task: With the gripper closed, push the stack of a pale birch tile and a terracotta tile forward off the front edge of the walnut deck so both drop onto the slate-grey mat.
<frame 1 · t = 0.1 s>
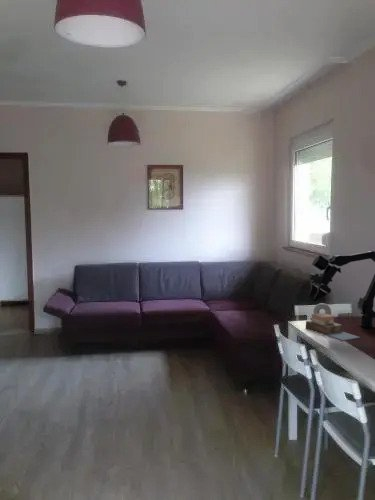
hand: (311, 298, 247), 15 cm above the table, tool tilted 30°, fingers open, 9 cm apart
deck: (323, 330, 239), on the table
tile lower: (322, 322, 240), point 4 cm above the table, touching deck, tile upper
donut: (321, 320, 262), on the table
mat: (342, 336, 228), on the table
tile upper: (322, 318, 240), point 6 cm above the table, touching tile lower
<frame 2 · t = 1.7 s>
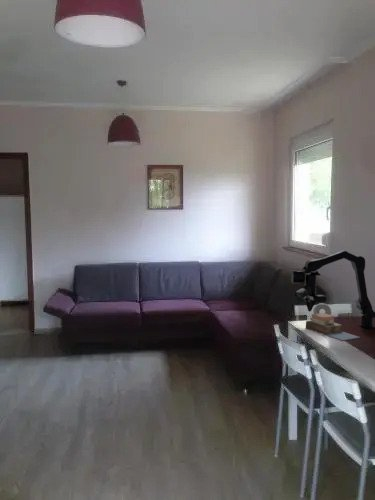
hand: (309, 311, 248), 8 cm above the table, tool pointing down, fingers closed
nothing on the table moved.
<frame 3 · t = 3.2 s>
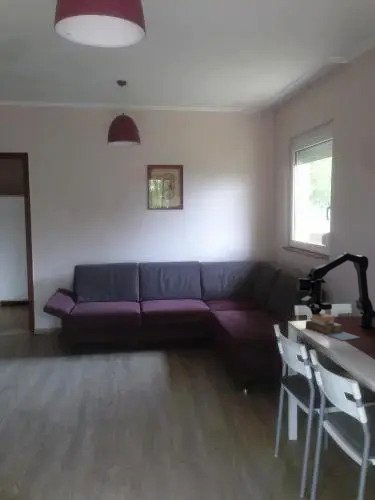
hand: (314, 319, 245), 4 cm above the table, tool pointing down, fingers closed
tile lower: (322, 322, 240), point 4 cm above the table, touching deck
tile upper: (323, 319, 239), point 6 cm above the table, touching gripper
everything else where it was.
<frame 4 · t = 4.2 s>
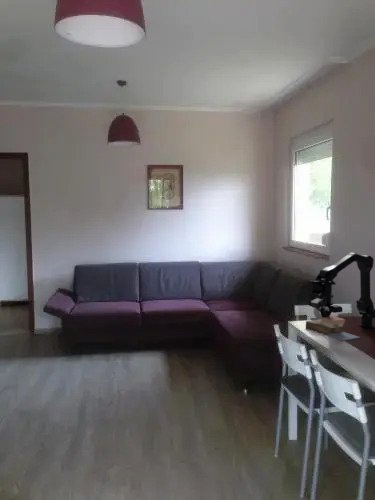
hand: (324, 322, 239), 5 cm above the table, tool pointing down, fingers closed
tile lower: (331, 325, 234), point 4 cm above the table, touching gripper, tile upper
tile upper: (333, 322, 233), point 6 cm above the table, touching tile lower
everything else where it was.
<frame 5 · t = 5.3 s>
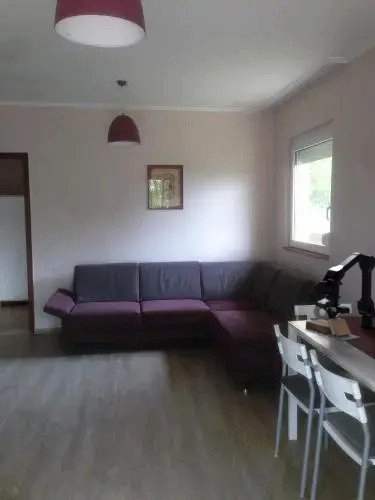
hand: (331, 323, 235), 5 cm above the table, tool pointing down, fingers closed
tile lower: (335, 327, 232), point 4 cm above the table, tilted 56°, touching gripper, mat
tile upper: (339, 328, 229), point 4 cm above the table, tilted 53°, touching mat
everything else where it was.
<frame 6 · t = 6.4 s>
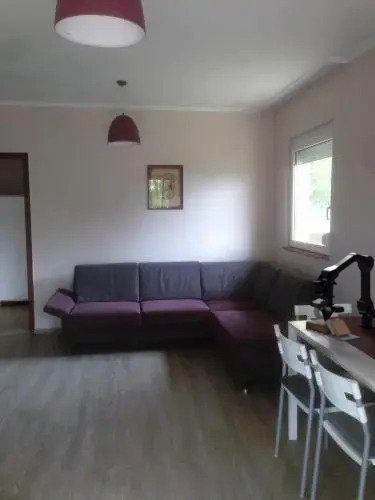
hand: (326, 322, 238), 5 cm above the table, tool pointing down, fingers closed
tile lower: (334, 327, 232), point 3 cm above the table, tilted 45°, touching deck, mat, tile upper
tile upper: (338, 329, 230), point 3 cm above the table, tilted 45°, touching mat, tile lower
everything else where it was.
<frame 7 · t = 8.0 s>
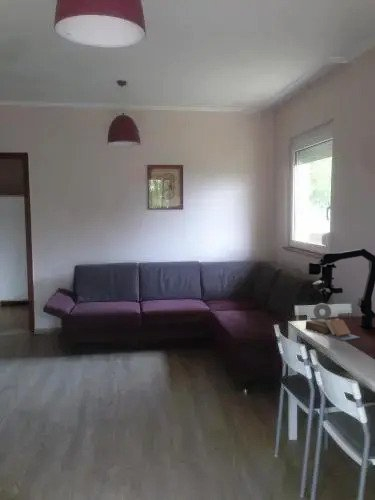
hand: (325, 303, 251), 12 cm above the table, tool pointing down, fingers closed
nothing on the table moved.
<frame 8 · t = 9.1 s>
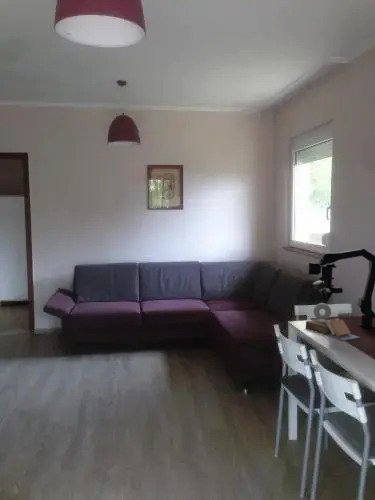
hand: (325, 303, 251), 12 cm above the table, tool pointing down, fingers closed
nothing on the table moved.
at the end: tile lower inside the target area on the mat (5.6 cm from its centre), point 3.3 cm above the mat's base; tile upper inside the target area on the mat (2.7 cm from its centre), point 3.3 cm above the mat's base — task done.
